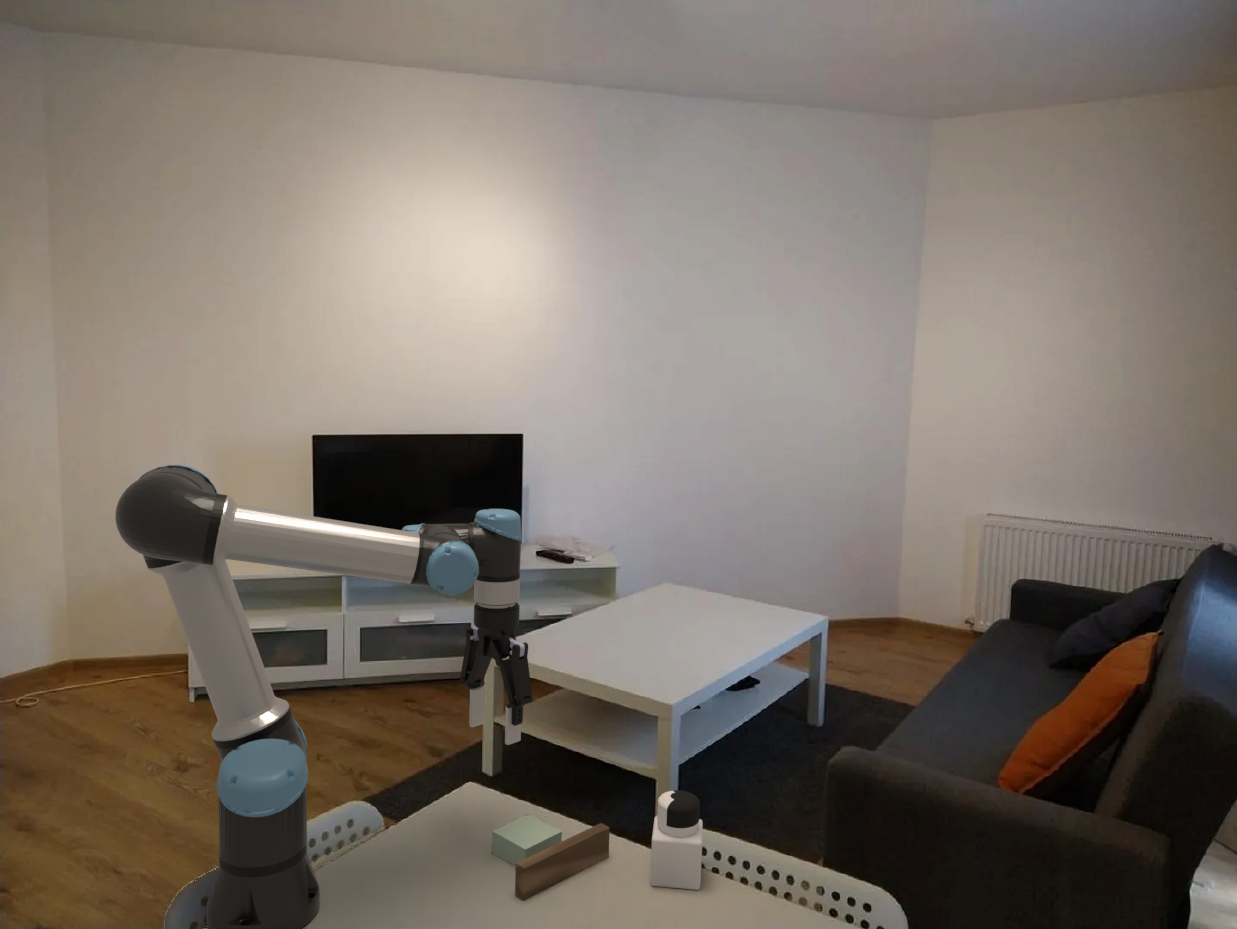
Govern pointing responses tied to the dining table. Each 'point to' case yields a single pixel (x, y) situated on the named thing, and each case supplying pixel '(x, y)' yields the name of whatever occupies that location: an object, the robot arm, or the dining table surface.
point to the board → (561, 861)
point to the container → (677, 842)
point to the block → (523, 839)
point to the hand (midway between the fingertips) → (494, 733)
